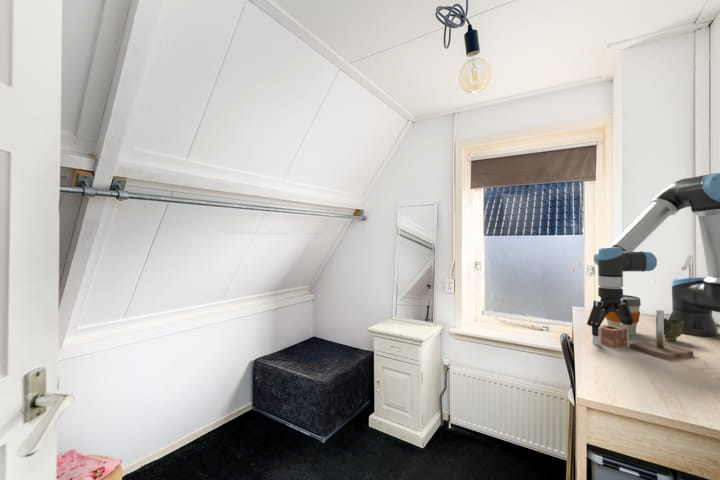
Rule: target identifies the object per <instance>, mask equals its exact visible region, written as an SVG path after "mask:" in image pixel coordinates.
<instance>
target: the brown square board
mask: <svg viewBox="0 0 720 480" xmlns="http://www.w3.org/2000/svg"><path fill="white" fill-rule="evenodd" d="M628 346H629V349H632V350H635V351H639V352H641V353H644V354H647V355H650V356H654V357H657V358H660V359H663V360H666V361H670V360H678V359H683V358H690V357H694V350H689V349H685V348H681V347H678V346H675V345H671V344H667V343H664V348H657V347H656V340H649V341H647V340H646V341H640V342H632V343H629V345H628Z"/></svg>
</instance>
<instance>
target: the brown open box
mask: <svg viewBox="0 0 720 480" xmlns="http://www.w3.org/2000/svg"><path fill="white" fill-rule="evenodd" d="M599 328H601V345H602V344H603V345H606V346H609V347H613V348H616V347H617V348H618V347H624V346H628V342H627V329H624V328H620V327H616V326H612V325H608V324H601V325H600V327H599Z"/></svg>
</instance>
